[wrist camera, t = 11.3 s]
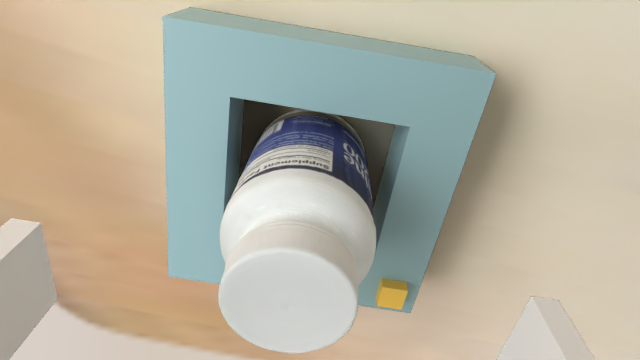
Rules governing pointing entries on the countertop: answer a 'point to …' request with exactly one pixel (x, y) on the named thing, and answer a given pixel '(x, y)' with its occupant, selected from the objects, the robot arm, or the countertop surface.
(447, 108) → the frame
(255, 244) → the pill bottle
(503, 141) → the countertop surface
